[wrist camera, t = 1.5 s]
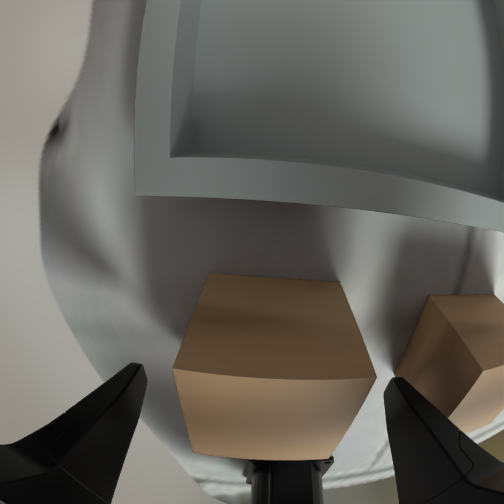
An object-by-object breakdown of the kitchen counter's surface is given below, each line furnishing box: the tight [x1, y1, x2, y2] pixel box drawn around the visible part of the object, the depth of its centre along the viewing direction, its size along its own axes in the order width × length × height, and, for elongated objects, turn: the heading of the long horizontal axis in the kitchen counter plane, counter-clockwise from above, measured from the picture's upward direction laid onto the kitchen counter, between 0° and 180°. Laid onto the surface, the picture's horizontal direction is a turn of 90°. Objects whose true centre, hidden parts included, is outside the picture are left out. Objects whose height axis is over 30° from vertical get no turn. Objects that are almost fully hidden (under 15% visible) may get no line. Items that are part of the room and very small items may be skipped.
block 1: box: [173, 273, 377, 460], centre depth 9 cm, size 5×5×5 cm
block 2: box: [394, 295, 504, 433], centre depth 9 cm, size 5×5×5 cm
